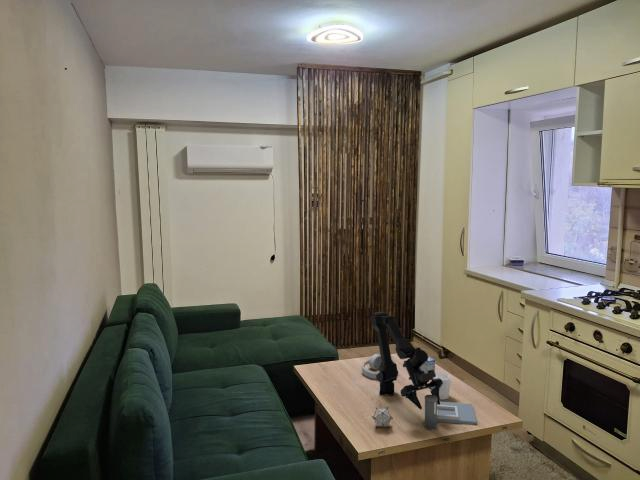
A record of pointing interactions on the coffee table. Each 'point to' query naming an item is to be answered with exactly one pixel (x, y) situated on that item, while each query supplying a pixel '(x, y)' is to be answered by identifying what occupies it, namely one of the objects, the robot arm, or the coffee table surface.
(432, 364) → the medicine box
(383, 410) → the game die
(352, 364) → the coffee table surface
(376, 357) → the headphones
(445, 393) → the white cup
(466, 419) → the grey base plate
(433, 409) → the grey tall cup
